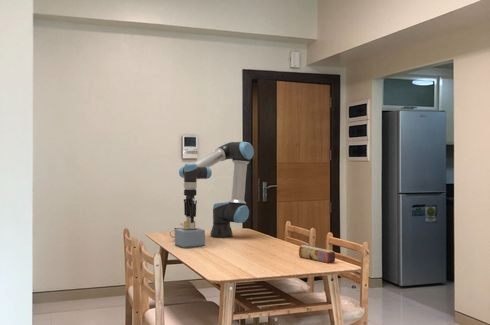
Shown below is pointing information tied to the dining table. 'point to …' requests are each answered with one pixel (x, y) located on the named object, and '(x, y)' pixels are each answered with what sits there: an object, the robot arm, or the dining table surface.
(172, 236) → the teacup with lid
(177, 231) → the grey box with opening
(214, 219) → the robot arm
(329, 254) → the snack package
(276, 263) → the dining table surface
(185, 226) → the rectangular block
